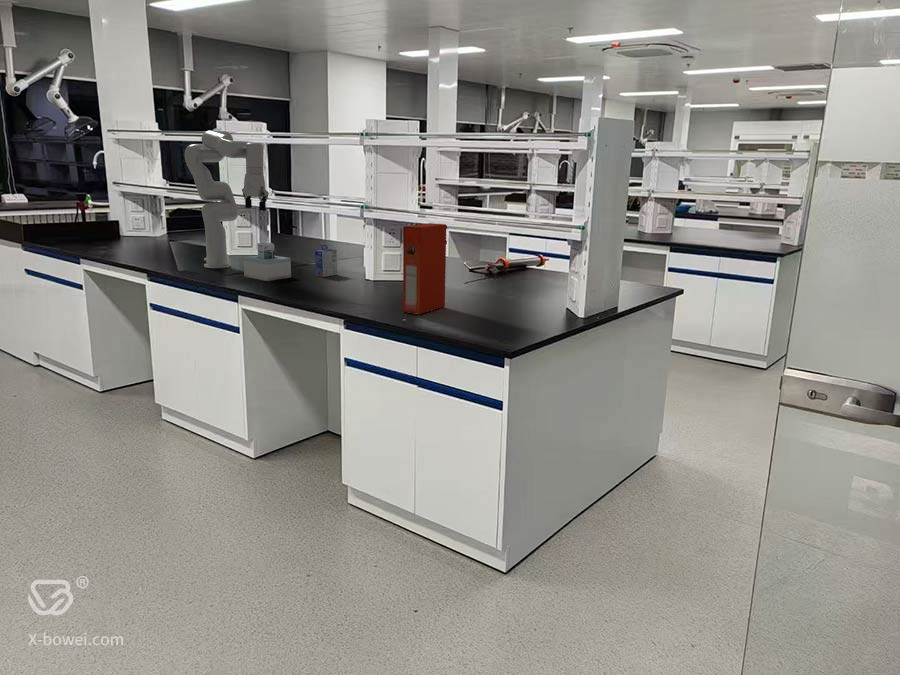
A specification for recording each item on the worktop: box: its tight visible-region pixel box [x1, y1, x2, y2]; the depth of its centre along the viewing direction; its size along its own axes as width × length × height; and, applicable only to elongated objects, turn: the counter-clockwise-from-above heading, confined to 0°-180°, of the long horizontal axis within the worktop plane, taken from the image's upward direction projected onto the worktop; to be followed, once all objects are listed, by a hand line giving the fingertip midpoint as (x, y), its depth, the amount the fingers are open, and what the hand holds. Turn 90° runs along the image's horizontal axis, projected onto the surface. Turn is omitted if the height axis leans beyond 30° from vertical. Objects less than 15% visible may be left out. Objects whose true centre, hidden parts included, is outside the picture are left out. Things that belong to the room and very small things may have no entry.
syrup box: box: [257, 242, 276, 260], centre depth 315 cm, size 6×6×14 cm
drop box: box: [242, 255, 292, 282], centre depth 316 cm, size 16×14×9 cm
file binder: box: [402, 222, 447, 315], centre depth 255 cm, size 8×17×32 cm, turn 149°
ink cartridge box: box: [314, 244, 338, 278], centre depth 324 cm, size 10×6×14 cm, turn 145°
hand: (255, 209), depth 313 cm, fingers open, 9 cm apart
